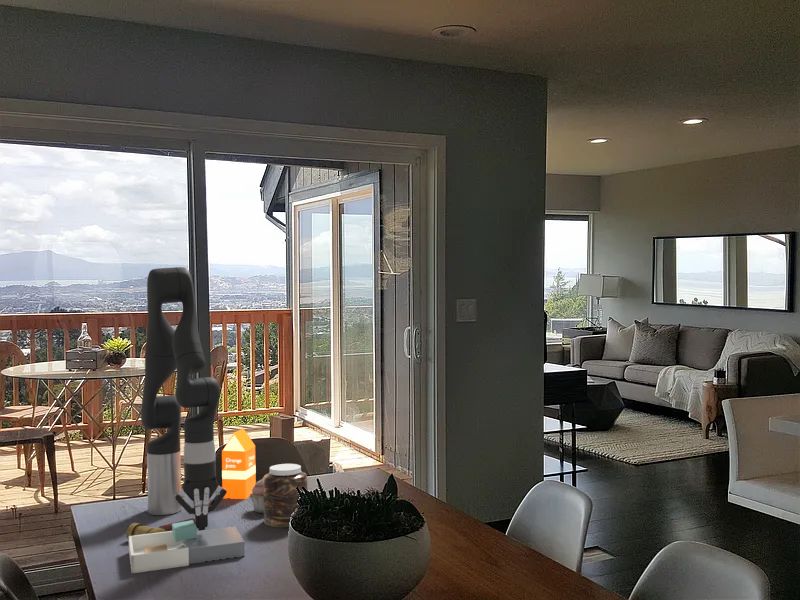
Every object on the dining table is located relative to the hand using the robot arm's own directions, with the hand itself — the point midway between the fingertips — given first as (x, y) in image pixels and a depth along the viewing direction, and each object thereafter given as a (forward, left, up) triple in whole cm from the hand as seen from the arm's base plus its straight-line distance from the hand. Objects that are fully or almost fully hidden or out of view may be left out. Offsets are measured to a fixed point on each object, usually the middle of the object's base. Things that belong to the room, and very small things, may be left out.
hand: (201, 529), depth 189 cm
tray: (+3, -11, -5) cm, 12 cm away
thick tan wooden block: (+7, -11, -1) cm, 13 cm away
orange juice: (-47, +17, -5) cm, 50 cm away
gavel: (-16, -6, -5) cm, 17 cm away
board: (+3, +2, -5) cm, 6 cm away
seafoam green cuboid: (0, -4, -1) cm, 4 cm away
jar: (-14, +24, -5) cm, 28 cm away
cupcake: (-27, +21, -5) cm, 34 cm away
